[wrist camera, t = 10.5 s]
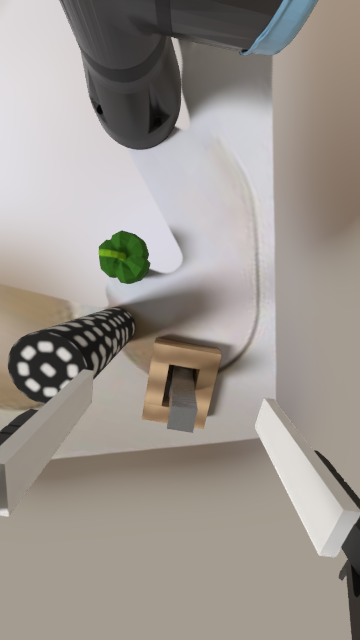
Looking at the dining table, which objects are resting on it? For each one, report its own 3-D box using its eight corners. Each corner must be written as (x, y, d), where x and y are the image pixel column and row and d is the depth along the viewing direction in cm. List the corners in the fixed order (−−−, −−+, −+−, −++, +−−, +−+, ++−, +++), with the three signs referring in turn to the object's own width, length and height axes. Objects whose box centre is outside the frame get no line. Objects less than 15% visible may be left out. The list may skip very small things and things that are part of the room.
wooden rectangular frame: (156, 337, 38) (154, 342, 35) (218, 348, 39) (221, 354, 35) (144, 408, 42) (141, 419, 38) (201, 417, 42) (203, 428, 39)
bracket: (174, 364, 39) (171, 405, 26) (191, 367, 40) (197, 410, 26) (169, 391, 41) (163, 444, 27) (185, 394, 41) (188, 448, 27)
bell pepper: (161, 253, 35) (154, 240, 25) (144, 290, 36) (131, 291, 26) (123, 233, 34) (100, 211, 24) (107, 271, 35) (79, 265, 26)
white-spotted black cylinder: (143, 327, 38) (104, 372, 18) (117, 351, 39) (53, 418, 19) (116, 299, 37) (41, 314, 17) (89, 325, 38) (-9, 367, 18)
